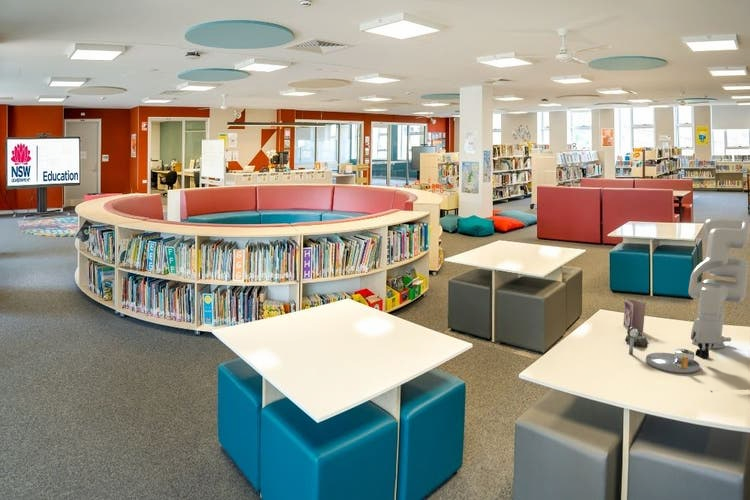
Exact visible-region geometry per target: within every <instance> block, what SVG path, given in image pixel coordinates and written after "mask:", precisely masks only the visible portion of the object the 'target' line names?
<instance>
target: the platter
mask: <svg viewBox="0 0 750 500" xmlns="http://www.w3.org/2000/svg"><path fill="white" fill-rule="evenodd" d="M674 359H675V353H669V352H653V353H649V354H647V355H646V356H645V362H646V364H647V365H648V366H649V367H652V368H654V369H656V370H659V371H662V372H666V373H671V374H676V375H677V374H678V375H692V374H696V373H699V371H700V369H701V368H700V367H701V365H700V363H699V362H698V361H697V360H694V361H693V364H688V357H686V356H682V363H679V362H676V361H675V360H674Z"/></svg>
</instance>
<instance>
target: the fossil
mask: <svg viewBox="0 0 750 500" xmlns="http://www.w3.org/2000/svg"><path fill="white" fill-rule="evenodd" d="M638 337H644V335H643V334H642V333H641V331H639V335H638ZM624 341H625V342H626V343H627V345H628V346H630V336H628V334H627V335H626V336H625V339H624ZM649 344H650V343H649V341H648V340H647V338H646V339H634V346H633V347H641V348H648V345H649Z"/></svg>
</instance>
